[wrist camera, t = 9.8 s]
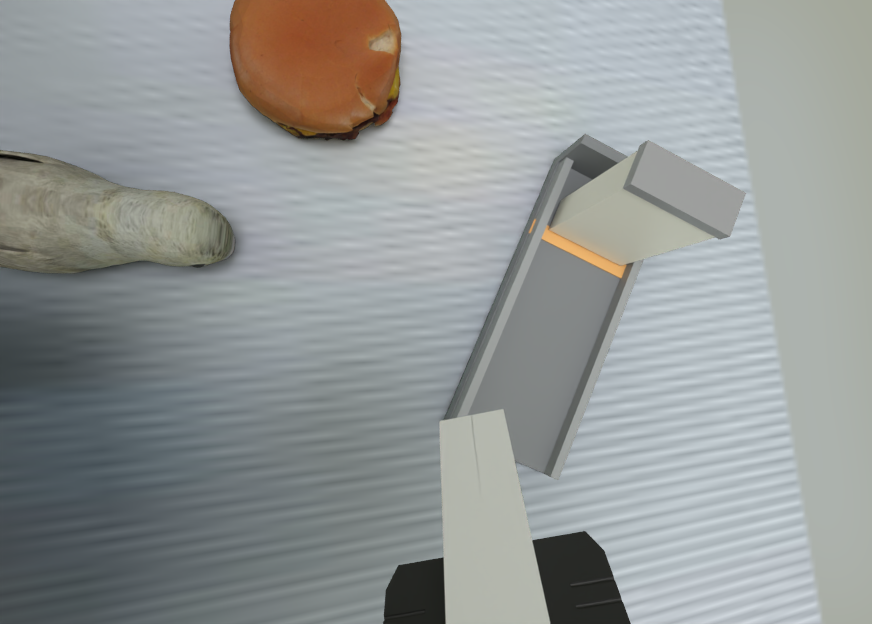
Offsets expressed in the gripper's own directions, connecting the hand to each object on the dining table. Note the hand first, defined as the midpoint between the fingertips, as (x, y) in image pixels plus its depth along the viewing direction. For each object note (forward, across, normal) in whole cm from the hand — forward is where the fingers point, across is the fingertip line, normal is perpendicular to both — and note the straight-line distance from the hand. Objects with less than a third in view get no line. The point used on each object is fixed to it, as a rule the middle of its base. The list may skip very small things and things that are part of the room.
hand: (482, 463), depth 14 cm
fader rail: (+22, +5, -7) cm, 23 cm away
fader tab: (+23, +8, -3) cm, 25 cm away
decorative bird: (+20, -19, +4) cm, 28 cm away
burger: (+27, -6, +10) cm, 29 cm away
